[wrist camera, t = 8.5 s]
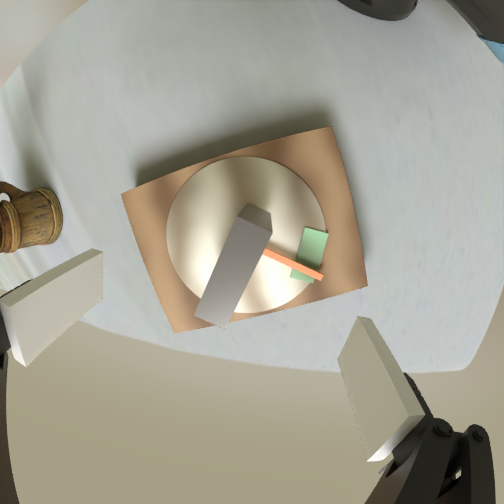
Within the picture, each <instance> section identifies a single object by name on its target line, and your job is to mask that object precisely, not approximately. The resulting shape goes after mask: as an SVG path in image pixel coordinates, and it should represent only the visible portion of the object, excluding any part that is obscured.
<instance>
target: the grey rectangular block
mask: <svg viewBox="0 0 504 504" xmlns="http://www.w3.org/2000/svg"><path fill="white" fill-rule="evenodd" d="M272 233H273V230H272V220H271V213H270V212H268V211H265V210H263V209H261V208H259V207H257V206H255V205H252V204H250V203H247V204H246V205H245V207H244V208H243V209H242V210H241V212H240V213H239V214H238V215H237V217H236V219H235V222H234V224H233V226H232V228H231V230H230V233H229V235H228V237H227V239H226V242H225V244H224V246H223V249H222V251H221V253H220V255H219V258H218V260H217V262H216V265H215V267H214V269H213V271H212V274H211V276H210V278H209V281H208V283H207V285H206V288H205V290H204V293H203V295H202V297H201V300H200V302H199V304H198V307H197V309H196V312H195V314H194V316H196V317H198V318H201V319H203V320H205V321H207V322H209V323H212V324H214V325H216V326H219V327H221V328H223V329H226V327H227V325H228V323H229V321H230V319H231V317H232V315H233V313H234V311H235V309H236V307H237V305H238V302H239V300H240V298H241V296H242V294H243V292H244V290H245V288H246V286H247V284H248V282H249V280H250V278H251V276H252V274H253V272H254V270H255V268H256V266H257V264H258V262H259V260H260V258H261V256H262V254H263V255H265V256H267V257H269V258H272V259H274V260H276V261H278V262H280V263H282V264H285V265H287V266H289V267H291V268H293V269H296V270H298V271H300V272H302V273H304V274H306V275H309V276H311V277H313V278H315V279H317V280H320V281H321V279H322V278H323V276H324V275H323V273H320V272H318V271H316V270H314V269H312V268H310V267H308V266H305V265H303V264H301V263H299V262H297V261H295V260H293V259H290V258H288V257H286V256H284V255H282V254H280V253H277V252H275V251H273V250H271V249H269V248H267V247H266V246H267V244H268V242H269V239H270V237H271V235H272Z"/></svg>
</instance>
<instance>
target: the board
mask: <svg viewBox="0 0 504 504" xmlns="http://www.w3.org/2000/svg"><path fill="white" fill-rule="evenodd" d="M121 196H122V199H123V203H124V206H125V209H126V212H127V215H128V218H129V221H130V224H131V227H132V230H133V233H134V236H135V239H136V242H137V245H138V247H139V250H140V253H141V256H142V258H143V261H144V263H145V266H146V269H147V271H148V274H149V276H150V279H151V281H152V284H153V286H154V289H155V291H156V293H157V296H158V298H159V300H160V303H161V305H162V307H163V310H164V312H165V314H166V316H167V318H168V321H169V323H170V325H171V327H172V329H173V331H174V333H178V332H184V331H189V330H194V329H200V328H205V327H210V326H215V325H214V324H212V323H209V322H207V321H205V320H203V319H201V318H198V317H196V316H194V314H195V312H196V309H197V307H198V304H199V302H200V300H201V297H202V295H203V293H204V290H205V288H206V285H207V283H208V281H209V278H210V276H211V274H212V271H213V269H214V267H215V265H216V262H217V260H218V258H219V255H220V253H221V251H222V249H223V246H224V244H225V242H226V239H227V237H228V235H229V233H230V230H231V228H232V226H233V224H234V222H235V219H236V217H237V215H238V214H239V213H240V212H241V210H242V209H243V208H244V207H245V205H246V204H247V203H250V204H252V205H255V206H257V207H259V208H261V209H263V210H265V211H268V212H270V213H271V220H272V230H273V233H272V235H271V237H270V239H269V242H268V244H267V246H266V247H267V248H269V249H271V250H273V251H275V252H277V253H280V254H282V255H284V256H286V257H288V258H290V259H293V260H295V261H297V262H299V263H301V264H303V265H305V266H308V267H310V268H312V269H314V270H316V271H318V272H320V273H323V275H324V276H323V278H322V279H321V281H320V280H317V279H315V278H313V277H311V276H309V275H306V274H304V273H302V272H300V271H298V270H296V269H293V268H291V267H289V266H287V265H285V264H282V263H280V262H278V261H276V260H274V259H272V258H269V257H267V256H265V255H263V254H262V256H261V258H260V260H259V262H258V264H257V266H256V268H255V270H254V272H253V274H252V276H251V278H250V280H249V282H248V284H247V286H246V288H245V290H244V292H243V294H242V296H241V298H240V300H239V302H238V305H237V307H236V309H235V311H234V313H233V315H232V317H231V319H230V321H229V322H234V321H238V320H243V319H247V318H251V317H256V316H260V315H264V314H268V313H272V312H277V311H281V310H285V309H288V308H292V307H296V306H300V305H304V304H308V303H311V302H315V301H319V300H322V299H326V298H329V297H333V296H336V295H340V294H343V293H346V292H350V291H353V290H356V289H360V288H363V287H366V286H368V284H367V276H366V270H365V263H364V257H363V251H362V246H361V240H360V235H359V230H358V225H357V220H356V215H355V210H354V206H353V201H352V197H351V193H350V189H349V185H348V181H347V177H346V173H345V169H344V165H343V162H342V158H341V155H340V151H339V148H338V144H337V141H336V138H335V135H334V131H333V128H332V126H330V127H325V128H320V129H316V130H311V131H307V132H302V133H298V134H294V135H290V136H286V137H282V138H278V139H274V140H271V141H267V142H263V143H260V144H256V145H253V146H249V147H246V148H243V149H239V150H236V151H233V152H230V153H227V154H223V155H220V156H217V157H214V158H211V159H208V160H205V161H203V162H200V163H197V164H194V165H191V166H189V167H186V168H183V169H180V170H178V171H175V172H173V173H170V174H167V175H165V176H162V177H160V178H157V179H155V180H152V181H150V182H148V183H145V184H143V185H141V186H138V187H136V188H134V189H131V190H129V191H127V192H125V193H122V194H121Z"/></svg>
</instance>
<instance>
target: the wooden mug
mask: <svg viewBox="0 0 504 504" xmlns="http://www.w3.org/2000/svg"><path fill="white" fill-rule="evenodd" d="M1 193H6V194H7V195H8V196H9V198H10V202H8V201H6V200H2V201H1V202H0V253H2V252H4V253H12V252H15V251H16V250H17V249H20V248H25V247H29V246H35V245H47V244H51V243H54V242H55V241H56V240H57V239H58V237H59V236H60V233H61V230H62V224H63V217H62V211H61V207H60V204H59V202H58V200H57V198H56V196H55V194H54V193H53V192H52V191H51V190H48V189H46V188H37V189H35V190H33V191H32V192H24V191H22V190H20V189H18V188H16V187H15V186H13V185H11V184H9V183H7V182H2V181H0V194H1Z"/></svg>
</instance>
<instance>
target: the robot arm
mask: <svg viewBox="0 0 504 504" xmlns="http://www.w3.org/2000/svg"><path fill="white" fill-rule="evenodd" d="M338 1H339V2H341V3H342V4H344V5H346V6H347V7H349V8H351V9H353V10H355V11H357V12H359V13H362V14H364V15H367V16H370V17H373V18H376V19H381V20H388V21H397V20H402V19H404V18H406V17H408V16H409V15H410V14H411V13H412V11H413V10H414V9H415V8H416V6H417V1H418V0H338ZM446 1H447V2H448V3H449V4H450V5H451V6H452V7H453V8H454V9H455V10H456V11H457V12H458V13H459V14H460V15H461V16H462V17H463V18H464V19H465V20H466V22H467V23H468V24H469V25H470V26H471V27H472V29H473V30H474V31H475V32H476V34H477V36H478V37H479V38H480V39H481V40H482V41H484V43H485V44H486V45H487V46H488V47H489V49H490V50H491V51H492V52H493V54H494V55H495V56H496V57H497V59H498V60H499V61H501V62H502V63H503V64H504V0H446ZM102 280H103V252H102V251H99V250H96V249H93V248H92V249H90V250H88V251H86V252H84V253H82V254H80V255H78V256H76V257H74V258H72V259H70V260H68V261H66V262H64V263H62V264H60V265H58V266H56V267H55V268H53V269H51V270H49V271H47V272H45V273H43V274H42V275H40V276H38V277H36V278H34V279H32V280H28V281H26V282H24V283H23V284H21V285H20V286H17V287H16V288H14V290H13V289H12V290H11V291H9V292H7V293H5V294H4V295H2V296H1V297H0V504H19V501H18V497H17V493H16V489H15V484H14V479H13V474H12V469H11V462H10V455H9V448H8V439H7V438H8V437H7V424H6V382H7V367H8V354H7V350H8V349H9V348H11V349H12V352H13V355H14V358H15V359H16V360H17V361H19V362H20V363H21V364H23V365H24V366H28V365H29V364H30V363H31V362H32V361H33V360H34V359H35V358H36V357H37V356H38V355H39V354H40V353H41V352H42V351H43V350H45V349H46V348H47V347H48V346H49V345H50V344H51V343H52V342H53V341H54V340H55V339H56V338H58V337H59V336H60V335H61V334H62V333H63V332H64V331H65V330H67V329H68V328H69V327H70V326H71V325H72V324H73V323H74V322H76V321H77V320H78V319H79V318H80V317H82V316H83V315H84V314H85V313H86V312H87V311H89V310H90V309H91V308H92V307H93V306H94V305H96V304H97V303H98V302H99V301H100V300H102V299H103V291H102ZM337 360H338V363H339V366H340V369H341V372H342V376H343V379H344V382H345V385H346V389H347V392H348V396H349V399H350V402H351V406H352V409H353V413H354V417H355V420H356V424H357V427H358V431H359V435H360V438H361V442H362V446H363V450H364V454H365V458H366V461H378V460H383V459H385V458H386V457H387V456H388V455H389V454H390V453H391V452H392V453H393V456H394V458H393V459H392V460H391V461H390V462H389V463H388V464H387V465H386V466H385V467H384V468H382V469H381V470H380V471H379V473H380V474H381V473H382V472H383V471H384V473H383V475H382V477H381V478H380V480H379V482H378V483H377V485H376V487H375V488H374V490H373V491H372V493H371V495H370V496H369V498H368V499H367V501H366V502H365V504H496V500H495V479H494V469H493V460H492V453H491V447H490V441H489V436H488V434H487V432H486V431H485V429H484V428H483V427H481V426H479V425H476V424H473V425H471V426H469V427H468V428H467V430H466V431H465V432H464V433H459V432H454V431H453V429H452V427H451V426H450V424H449V423H448V422H446V421H445V420H443V419H440V418H434V417H433V415H432V413H431V411H430V409H429V408H428V406H427V404H426V402H425V400H424V398H423V397H422V396H421V393H420V391H419V390H418V388H417V386H416V384H415V383H414V381H413V379H411V378H410V377H409V376H408V375H407V374H406V373H403V372H402V370H401V369H400V367H399V365H398V363H397V362H396V360H395V358H394V356H393V355H392V353H391V351H390V350H389V348H388V346H387V345H386V343H385V341H384V340H383V338H382V336H381V335H380V333H379V331H378V330H377V328H376V326H375V325H374V323H373V322H372V320H371V319H370V318H365V317H360V316H358V317H357V319H356V321H355V323H354V326H353V328H352V330H351V332H350V334H349V337H348V339H347V341H346V343H345V345H344V347H343V349H342V351H341V353H340V355H339V357H338V359H337ZM460 470H461V476H460V477H459V478H457V479H456V473H458V472H459V471H460Z"/></svg>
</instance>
